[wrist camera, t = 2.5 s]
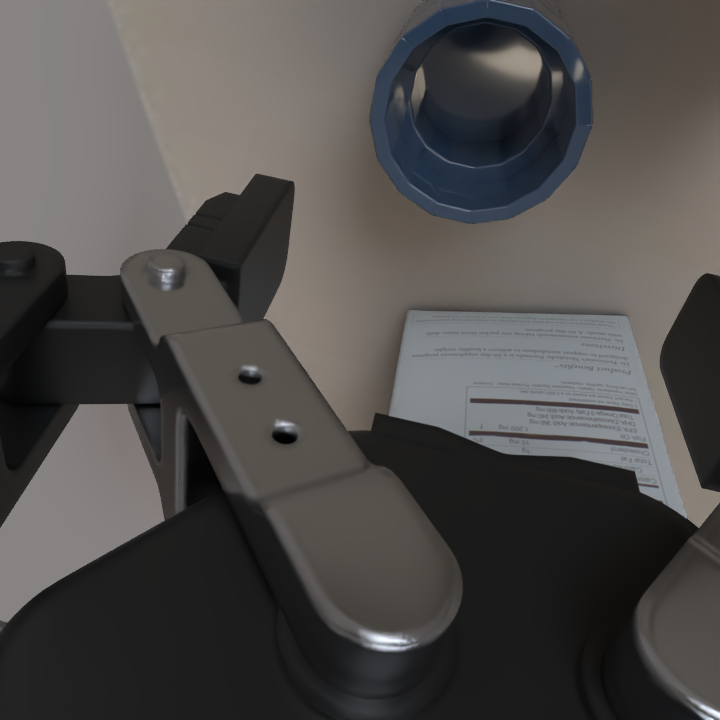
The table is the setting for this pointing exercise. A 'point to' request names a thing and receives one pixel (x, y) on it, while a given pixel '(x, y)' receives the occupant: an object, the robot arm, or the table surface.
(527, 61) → the plant pot
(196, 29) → the table surface
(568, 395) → the supplement box
